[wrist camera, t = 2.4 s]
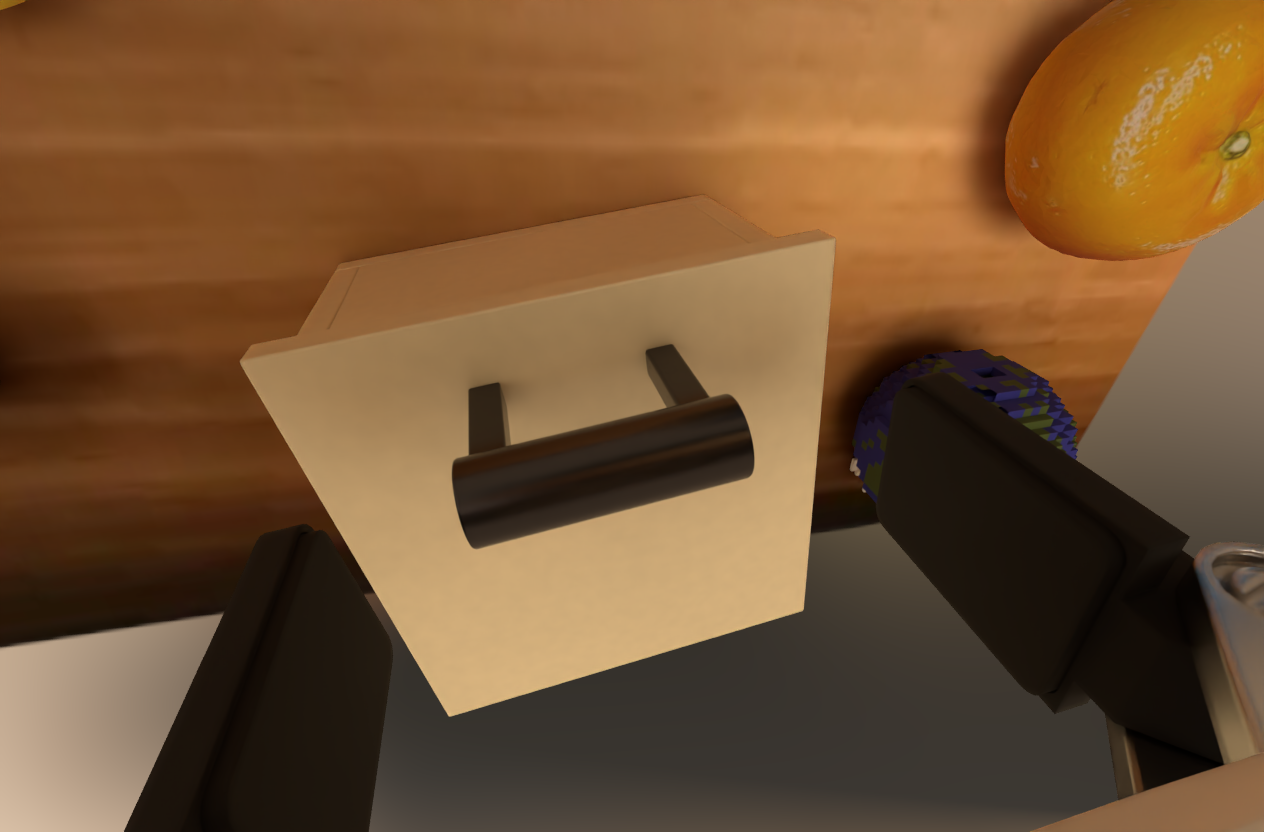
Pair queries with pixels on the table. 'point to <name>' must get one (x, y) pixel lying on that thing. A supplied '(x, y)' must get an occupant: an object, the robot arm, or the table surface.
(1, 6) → the yellow potato
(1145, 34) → the fruit
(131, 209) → the table surface
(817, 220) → the table surface
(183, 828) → the robot arm
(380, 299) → the open storage bin
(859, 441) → the ball
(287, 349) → the wooden box lid
